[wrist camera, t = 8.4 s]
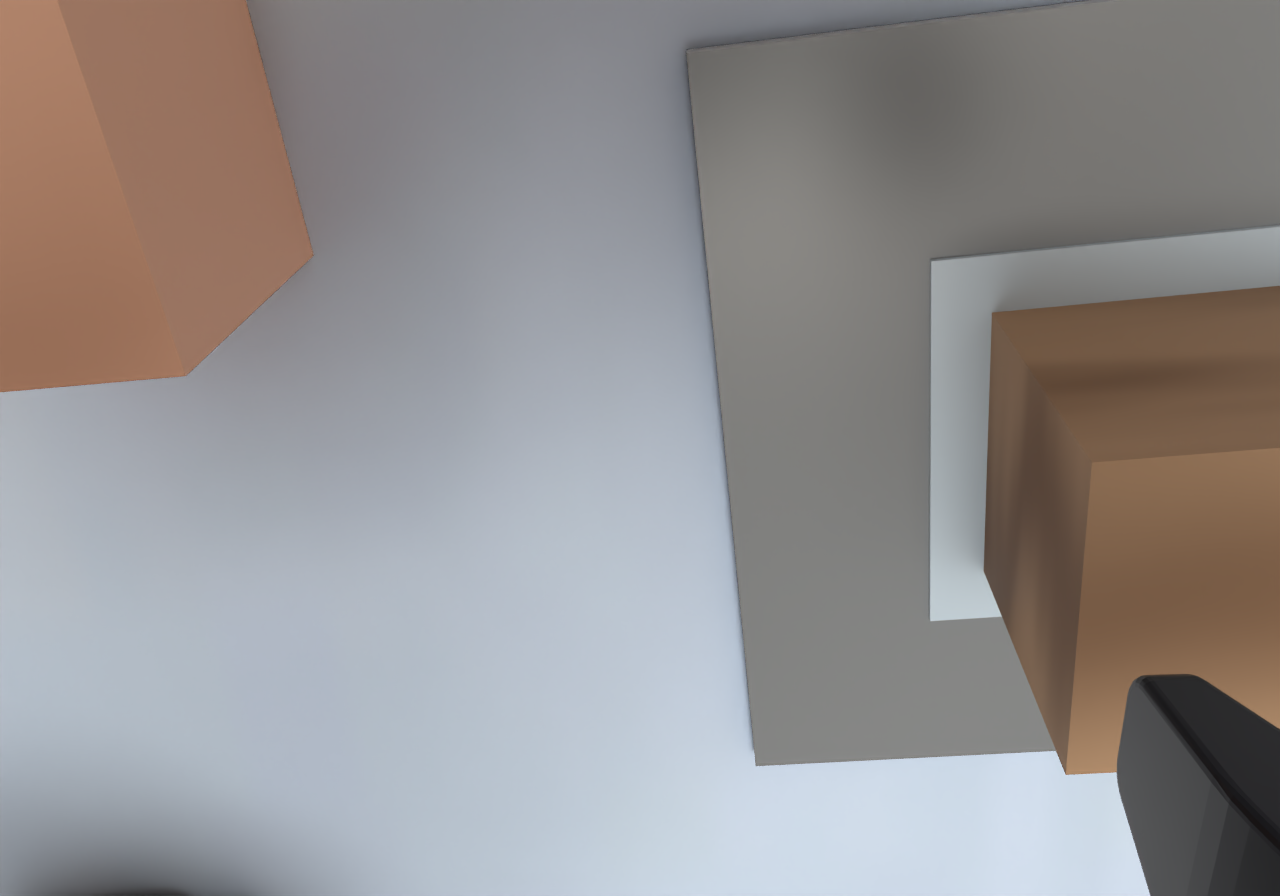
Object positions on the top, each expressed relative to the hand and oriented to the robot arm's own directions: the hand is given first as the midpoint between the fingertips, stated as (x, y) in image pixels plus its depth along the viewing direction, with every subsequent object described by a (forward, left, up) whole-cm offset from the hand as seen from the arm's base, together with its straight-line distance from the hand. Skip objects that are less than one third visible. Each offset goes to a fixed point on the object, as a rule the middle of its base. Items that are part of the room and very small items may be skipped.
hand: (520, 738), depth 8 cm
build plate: (-4, -8, -11) cm, 14 cm away
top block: (+3, +8, -11) cm, 14 cm away
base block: (-4, -8, -10) cm, 14 cm away
